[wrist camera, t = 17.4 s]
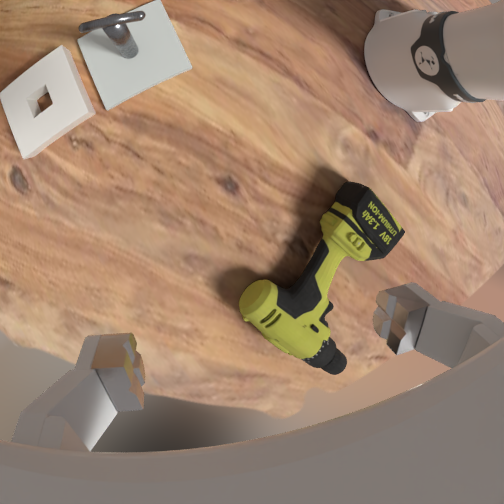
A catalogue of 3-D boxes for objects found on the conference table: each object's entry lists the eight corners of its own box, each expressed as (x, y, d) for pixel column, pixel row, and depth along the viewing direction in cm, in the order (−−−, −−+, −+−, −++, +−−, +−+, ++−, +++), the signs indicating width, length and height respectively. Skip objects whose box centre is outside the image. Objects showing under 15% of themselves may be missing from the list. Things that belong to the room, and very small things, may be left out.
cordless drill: (418, 275, 49) (321, 369, 52) (348, 173, 40) (223, 297, 43) (442, 292, 43) (336, 394, 46) (376, 181, 33) (230, 325, 36)
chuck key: (155, 40, 27) (145, 3, 17) (155, 54, 28) (144, 22, 18) (106, 48, 26) (78, 18, 16) (105, 63, 26) (76, 37, 16)
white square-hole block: (69, 50, 25) (61, 45, 22) (96, 113, 29) (88, 112, 26) (10, 95, 25) (-2, 94, 22) (34, 156, 29) (23, 159, 26)
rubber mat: (159, 1, 25) (159, -2, 24) (192, 68, 30) (192, 67, 29) (79, 41, 25) (77, 39, 24) (108, 110, 29) (106, 110, 29)
